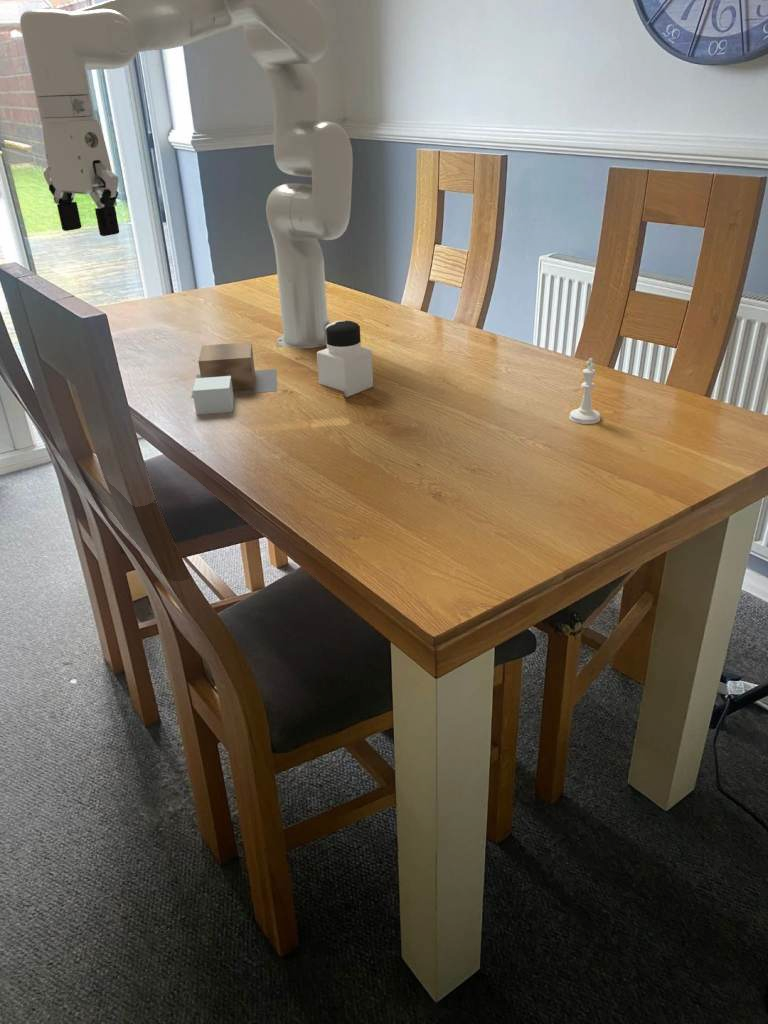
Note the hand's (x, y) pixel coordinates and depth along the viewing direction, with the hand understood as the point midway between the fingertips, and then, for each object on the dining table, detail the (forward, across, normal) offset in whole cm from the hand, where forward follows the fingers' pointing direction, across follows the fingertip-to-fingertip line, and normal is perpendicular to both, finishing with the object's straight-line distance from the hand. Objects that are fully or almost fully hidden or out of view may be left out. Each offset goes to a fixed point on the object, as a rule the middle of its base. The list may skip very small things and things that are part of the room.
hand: (90, 232), depth 124 cm
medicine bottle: (+30, -27, -28) cm, 49 cm away
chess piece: (+30, -69, -38) cm, 84 cm away
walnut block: (+28, -9, -17) cm, 34 cm away
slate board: (+30, -10, -17) cm, 36 cm away
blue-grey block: (+30, -15, -7) cm, 34 cm away
